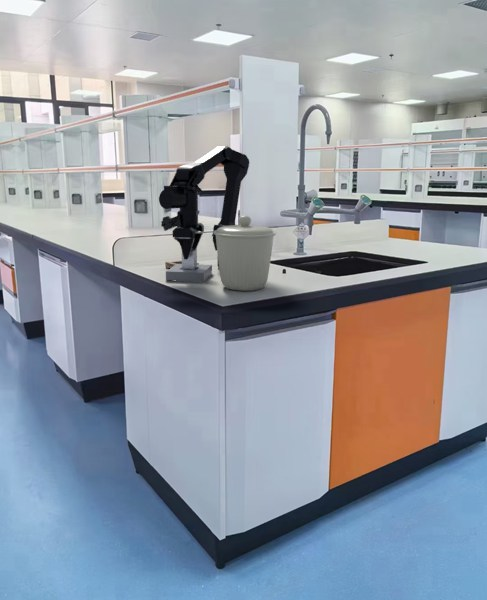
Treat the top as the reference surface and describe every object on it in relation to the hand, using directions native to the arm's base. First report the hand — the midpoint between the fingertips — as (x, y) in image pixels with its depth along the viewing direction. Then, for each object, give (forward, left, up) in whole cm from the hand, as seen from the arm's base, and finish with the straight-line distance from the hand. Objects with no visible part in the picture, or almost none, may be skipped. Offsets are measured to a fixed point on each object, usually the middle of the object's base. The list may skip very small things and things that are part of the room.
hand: (189, 257), depth 168 cm
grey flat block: (0, 0, -7) cm, 7 cm away
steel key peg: (0, 0, -7) cm, 7 cm away
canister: (-19, +12, -7) cm, 24 cm away
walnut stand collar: (+6, -15, -7) cm, 18 cm away
